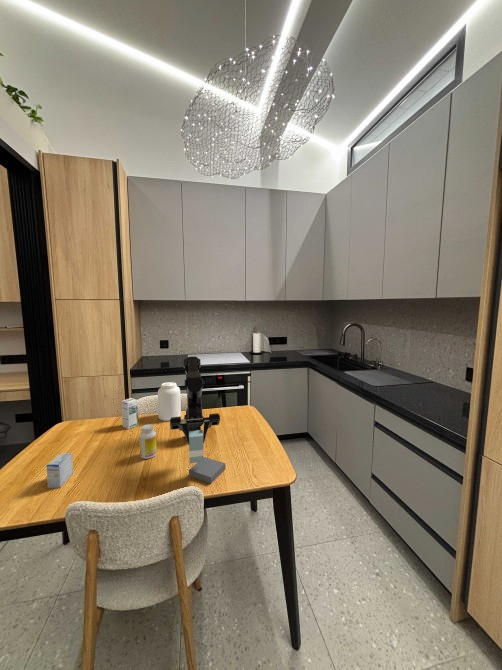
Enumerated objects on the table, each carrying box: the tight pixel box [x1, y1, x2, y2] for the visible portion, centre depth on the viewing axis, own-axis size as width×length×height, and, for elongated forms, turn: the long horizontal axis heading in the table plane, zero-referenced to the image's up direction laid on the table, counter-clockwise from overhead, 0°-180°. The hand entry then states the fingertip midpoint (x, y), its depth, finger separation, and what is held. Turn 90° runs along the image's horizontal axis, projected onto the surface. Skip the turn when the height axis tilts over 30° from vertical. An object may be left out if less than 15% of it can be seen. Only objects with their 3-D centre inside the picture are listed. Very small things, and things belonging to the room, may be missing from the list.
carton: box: [188, 429, 205, 464], centre depth 102 cm, size 5×5×10 cm
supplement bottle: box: [138, 423, 157, 460], centre depth 116 cm, size 7×7×13 cm
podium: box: [188, 456, 227, 484], centre depth 105 cm, size 10×10×2 cm
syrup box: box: [121, 397, 139, 430], centre depth 145 cm, size 6×6×14 cm
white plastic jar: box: [157, 381, 182, 422], centre depth 157 cm, size 12×12×20 cm
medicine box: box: [46, 452, 74, 489], centre depth 99 cm, size 8×4×9 cm, turn 5°
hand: (196, 443), depth 100 cm, fingers closed on carton, 5 cm apart
